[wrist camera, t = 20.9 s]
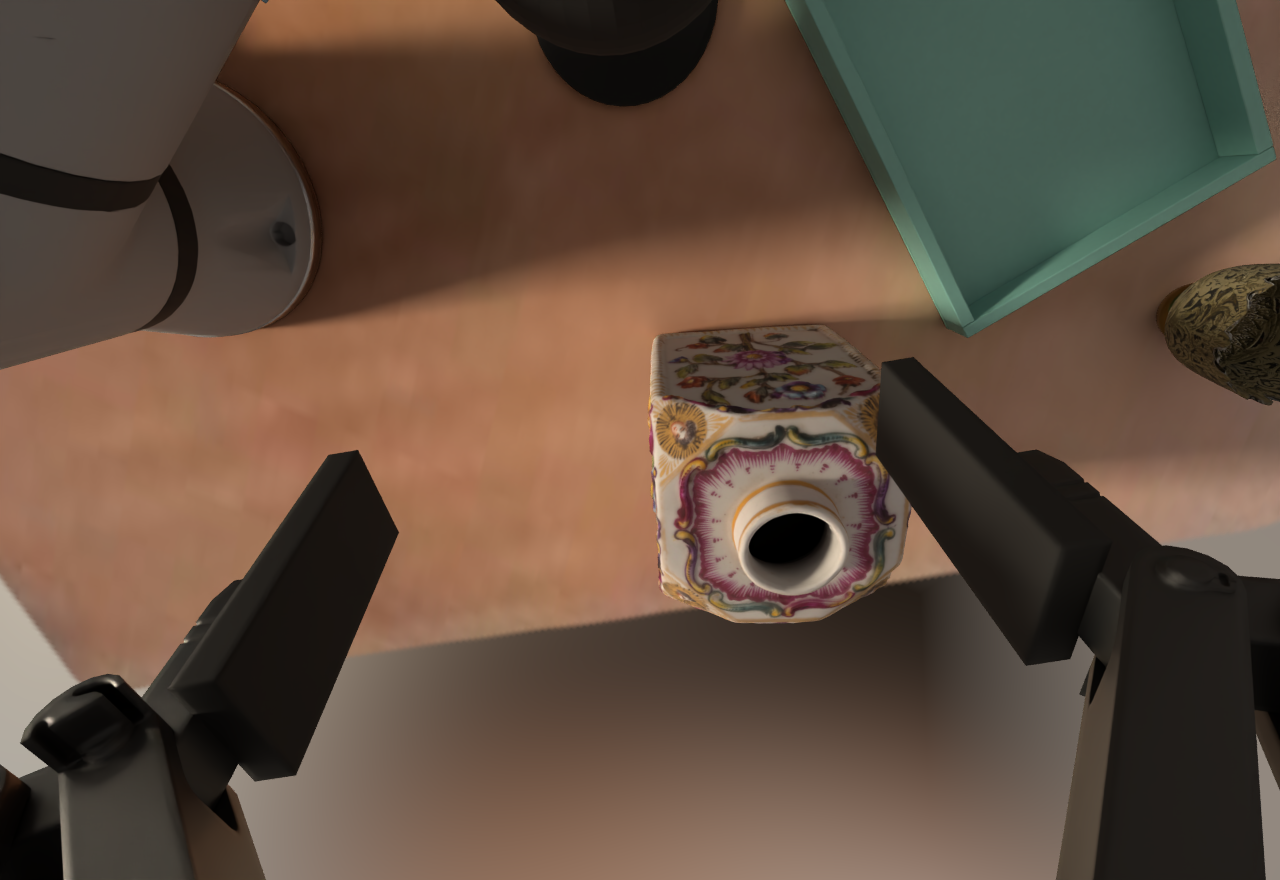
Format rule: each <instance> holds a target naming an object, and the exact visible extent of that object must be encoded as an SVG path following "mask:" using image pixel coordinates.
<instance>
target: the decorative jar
mask: <svg viewBox="0 0 1280 880" xmlns="http://www.w3.org/2000/svg"><path fill="white" fill-rule="evenodd" d="M880 382H881V370H880V369H879V368H878V367H877V366H875V365H874V364H873V363H872V362H871V361H870V360H868V358H866V357H865V356H864V355H862V353H860V352H859V351H858V350H857V349H856V348H855V347H853V346H852V345H851V344H850V343H849V342H847V341H846V340H845V339H844V338H842V337H841V336H839V335H838V334H837V333H835V332H834V331H832V330H831V329H830V328H828V327H827V326H824V325H805V326H799V325H798V326H777V327H761V328H748V329H733V330H720V331H707V332H686V333H668V334H661V335H658V336H657V337H656V338H655V339H654V341H653V346H652V353H651V377H650V392H651V394H650V398H649V405H648V414H649V417H648V425H649V428H650V436H649V444H650V453H651V454H652V471H651V474H652V484H651V497H652V499H653V511H654V512H655V513H656V521H657V524H658V530H657V535H656V541H657V546H658V551H659V553H658V568H659V589H660V590H661V591H662V592H663V593H664V594H665V595H667V596H668V597H670V598H673V599H676V600H678V601H681V602H684V603H685V604H689V605H691V606H693V607H695V608H697V609H701V610H705V611H708V612H710V613H713V614H715V615H718V616H720V617H722V618H725V619H727V620H730V621H732V622H738V623H797V622H806V621H816V620H821V619H824V618H826V617H828V616H830V615H832V614H833V613H835V612H836V611H838V610H840V609H841V608H843V607H845V606H847V605H849V604H851V603H853V602H855V601H857V600H858V599H860V598H861V597H864V596H867V595H869V594H871V593H873V592H874V591H875V590H876V589H877V588H879V587H881V586H884V585H885V584H886V583H887V580H888V579H889V578H890V574H891V572H892V571H893V570H894V569H895V568H897V567H898V566H899V565H900V563H901V561H902V558H903V552H904V546H905V540H906V534H907V529H908V520H909V517H910V514H911V507H912V506H911V504H910V503H909V501H908V500H907V499H906V497H905V496H904V494H903V493H902V492H901V490H900V489H899V487H898V486H897V485H896V483H895V482H894V480H893V479H892V478H891V476H890V475H889V473H888V472H887V471H886V469H885V468H884V466H883V465H882V464H881V462H880V461H879V459H878V458H877V457H876V440H877V426H878V411H879V396H880Z"/></svg>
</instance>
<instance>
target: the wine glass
mask: <svg viewBox="0 0 1280 880" xmlns="http://www.w3.org/2000/svg"><path fill="white" fill-rule="evenodd" d="M496 1H497V2H498V3H499V4H500V5H501V6H502V7H503V9H504V10H505V11H506V12H507V13H508V14H509V15H510V16H511V17H513V18H514V19H515V20H516V21H518V22H519V23H520V24H522V25H523V26H524V27H526V28H527V29H528V30H530V31H531V32H532V33H534V34H536V35H537V38H538V41H539V44H540V46H541V48H542V50H543V52H544V54H545V55H546V57H547V59H548V61H549V62H550V63H551V65H552V66H553V68H554V69H555V70H556V72H557V73H558V74H559V75H560V76H561V77H562V78H563V79H564V80H565V81H566V82H567V83H568V84H569V85H570V86H571V87H573V88H574V89H575V90H576V91H578V92H579V93H580V94H582V95H584V96H586V97H588V98H590V99H592V100H594V101H597V102H600V103H604V104H607V105H614V106H636V105H640V104H645V103H649V102H651V101H654V100H656V99H658V98H661V97H663V96H664V95H666V94H667V93H669V92H670V91H672V90H673V89H675V88H676V87H677V86H678V85H679V84H680V83H682V82H683V81H684V80H685V79H686V78H687V76H688V75H689V74H690V73H691V72H692V70H693V69H694V68H695V67H696V65H697V63H698V62H699V60H700V58H701V57H702V55H703V53H704V51H705V49H706V47H707V44H708V42H709V40H710V37H711V34H712V31H713V27H714V24H715V20H716V13H717V6H718V0H496Z"/></svg>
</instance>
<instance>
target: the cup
mask: <svg viewBox="0 0 1280 880" xmlns="http://www.w3.org/2000/svg"><path fill="white" fill-rule="evenodd" d="M1156 322H1157V325H1158V328H1159V329H1160V331H1161V332H1162V333H1163V334H1164V335H1165V339H1166V342H1167V345H1168V348H1169V349H1170V351H1171V353H1172V354H1173V355H1174V357H1175V358H1176V359H1177V360H1178V361H1180V362H1181V363H1182V364H1183V365H1184V366H1186V367H1187V368H1189V369H1190V370H1192V371H1194V372H1195V373H1197V374H1199V375H1200V376H1202V377H1204V378H1206V379H1208V380H1210V381H1212V382H1214V383H1216V384H1218V385H1220V386H1222V387H1224V388H1226V389H1228V390H1230V391H1232V392H1234V393H1236V394H1238V395H1240V396H1241V397H1243V398H1245V399H1247V400H1248V399H1253V400H1255V401H1257V402H1259V403H1261V404H1265V405H1272V403H1273V401H1272V400H1275V401H1279V402H1280V264H1254V265H1243V266H1236V267H1231V268H1226V269H1223V270H1220V271H1217V272H1214V273H1211V274H1209V275H1207V276H1205V277H1203V278H1201V279H1200V280H1198V281H1196V282H1195V283H1191V284H1187V285H1184V286H1181V287H1179V288H1177V289H1175V290H1174V291H1172V292H1171V293H1170V294H1168V295H1167V296H1166V297H1165V298H1164V300H1163V301H1162V302H1161V304H1160V306H1159V308H1158V310H1157V315H1156ZM1270 399H1271V400H1270Z"/></svg>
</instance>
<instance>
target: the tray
mask: <svg viewBox="0 0 1280 880" xmlns="http://www.w3.org/2000/svg"><path fill="white" fill-rule="evenodd" d="M785 2H786V4H787V6H788V8H789V10H790V12H791V14H792V16H793V18H794V20H795V22H796V24H797V26H798V28H799V30H800V32H801V34H802V36H803V38H804V40H805V42H806V44H807V46H808V48H809V50H810V52H811V54H812V56H813V58H814V61H815V63H816V65H817V67H818V69H819V71H820V73H821V75H822V77H823V79H824V81H825V83H826V85H827V87H828V89H829V91H830V93H831V95H832V97H833V99H834V101H835V103H836V105H837V107H838V109H839V111H840V113H841V115H842V117H843V119H844V121H845V123H846V125H847V127H848V129H849V131H850V134H851V136H852V138H853V140H854V142H855V144H856V146H857V148H858V150H859V152H860V154H861V156H862V158H863V160H864V162H865V164H866V166H867V168H868V170H869V172H870V174H871V176H872V178H873V180H874V182H875V184H876V186H877V188H878V190H879V192H880V194H881V196H882V198H883V200H884V202H885V204H886V206H887V209H888V211H889V213H890V215H891V217H892V219H893V221H894V223H895V225H896V227H897V229H898V231H899V233H900V235H901V237H902V239H903V241H904V243H905V245H906V247H907V249H908V251H909V253H910V255H911V257H912V259H913V261H914V263H915V265H916V267H917V269H918V271H919V273H920V275H921V277H922V279H923V282H924V284H925V286H926V288H927V290H928V292H929V294H930V296H931V298H932V300H933V302H934V304H935V306H936V308H937V310H938V312H939V314H940V316H941V318H942V320H943V322H944V324H945V326H946V328H947V329H950V330H952V331H954V332H956V333H958V334H960V335H963V336H965V337H967V338H969V337H971V336H972V335H974V334H976V333H977V332H979V331H981V330H983V329H984V328H986V327H988V326H989V325H991V324H993V323H995V322H996V321H998V320H1000V319H1002V318H1003V317H1005V316H1007V315H1008V314H1010V313H1012V312H1014V311H1015V310H1017V309H1019V308H1020V307H1022V306H1024V305H1026V304H1027V303H1029V302H1031V301H1033V300H1034V299H1036V298H1038V297H1039V296H1041V295H1043V294H1045V293H1046V292H1048V291H1050V290H1052V289H1053V288H1055V287H1057V286H1058V285H1060V284H1062V283H1064V282H1065V281H1067V280H1069V279H1070V278H1072V277H1074V276H1076V275H1077V274H1079V273H1081V272H1083V271H1084V270H1086V269H1088V268H1089V267H1091V266H1093V265H1095V264H1096V263H1098V262H1100V261H1102V260H1103V259H1105V258H1107V257H1108V256H1110V255H1112V254H1114V253H1115V252H1117V251H1119V250H1120V249H1122V248H1124V247H1126V246H1127V245H1129V244H1131V243H1133V242H1134V241H1136V240H1138V239H1139V238H1141V237H1143V236H1145V235H1146V234H1148V233H1150V232H1152V231H1153V230H1155V229H1157V228H1158V227H1160V226H1162V225H1164V224H1165V223H1167V222H1169V221H1170V220H1172V219H1174V218H1176V217H1177V216H1179V215H1181V214H1183V213H1184V212H1186V211H1188V210H1189V209H1191V208H1193V207H1195V206H1196V205H1198V204H1200V203H1202V202H1203V201H1205V200H1207V199H1208V198H1210V197H1212V196H1214V195H1215V194H1217V193H1219V192H1220V191H1222V190H1224V189H1226V188H1227V187H1229V186H1231V185H1233V184H1234V183H1236V182H1238V181H1239V180H1241V179H1243V178H1245V177H1246V176H1248V175H1250V174H1252V173H1253V172H1255V171H1257V170H1258V169H1260V168H1262V167H1264V166H1265V165H1267V164H1269V163H1270V162H1272V161H1274V160H1276V154H1275V151H1274V147H1273V142H1272V138H1271V134H1270V130H1269V127H1268V123H1267V119H1266V115H1265V111H1264V107H1263V103H1262V100H1261V96H1260V92H1259V88H1258V84H1257V80H1256V76H1255V73H1254V69H1253V65H1252V61H1251V57H1250V53H1249V49H1248V46H1247V42H1246V38H1245V34H1244V30H1243V26H1242V22H1241V19H1240V15H1239V11H1238V7H1237V3H1236V0H785Z"/></svg>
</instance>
